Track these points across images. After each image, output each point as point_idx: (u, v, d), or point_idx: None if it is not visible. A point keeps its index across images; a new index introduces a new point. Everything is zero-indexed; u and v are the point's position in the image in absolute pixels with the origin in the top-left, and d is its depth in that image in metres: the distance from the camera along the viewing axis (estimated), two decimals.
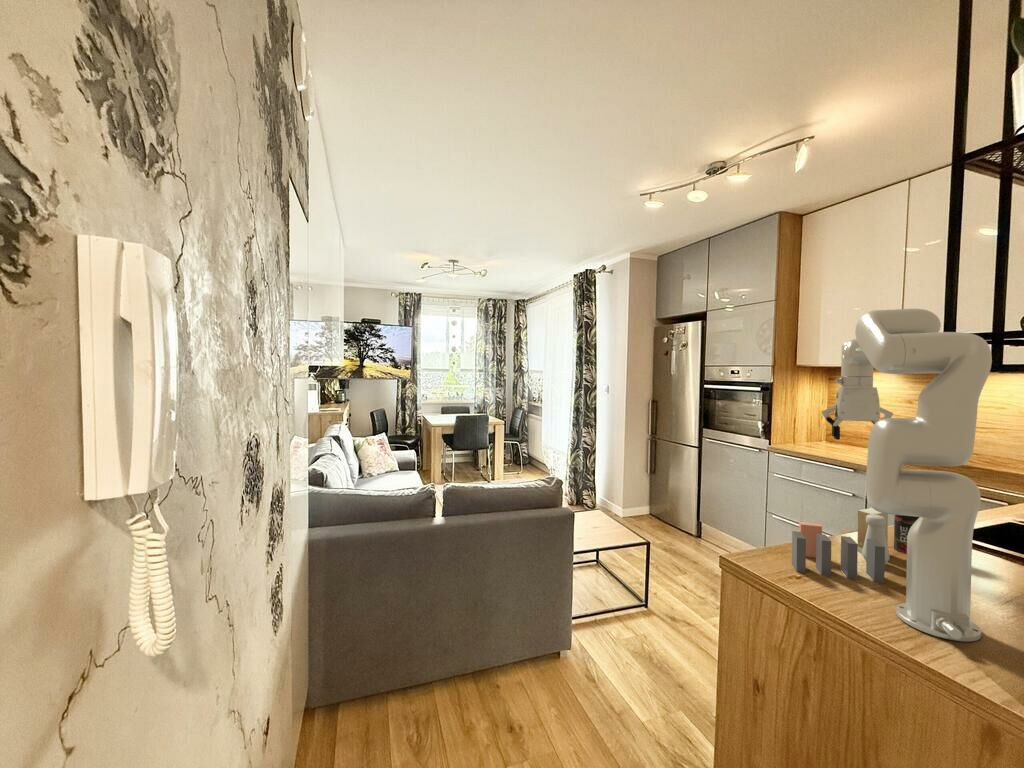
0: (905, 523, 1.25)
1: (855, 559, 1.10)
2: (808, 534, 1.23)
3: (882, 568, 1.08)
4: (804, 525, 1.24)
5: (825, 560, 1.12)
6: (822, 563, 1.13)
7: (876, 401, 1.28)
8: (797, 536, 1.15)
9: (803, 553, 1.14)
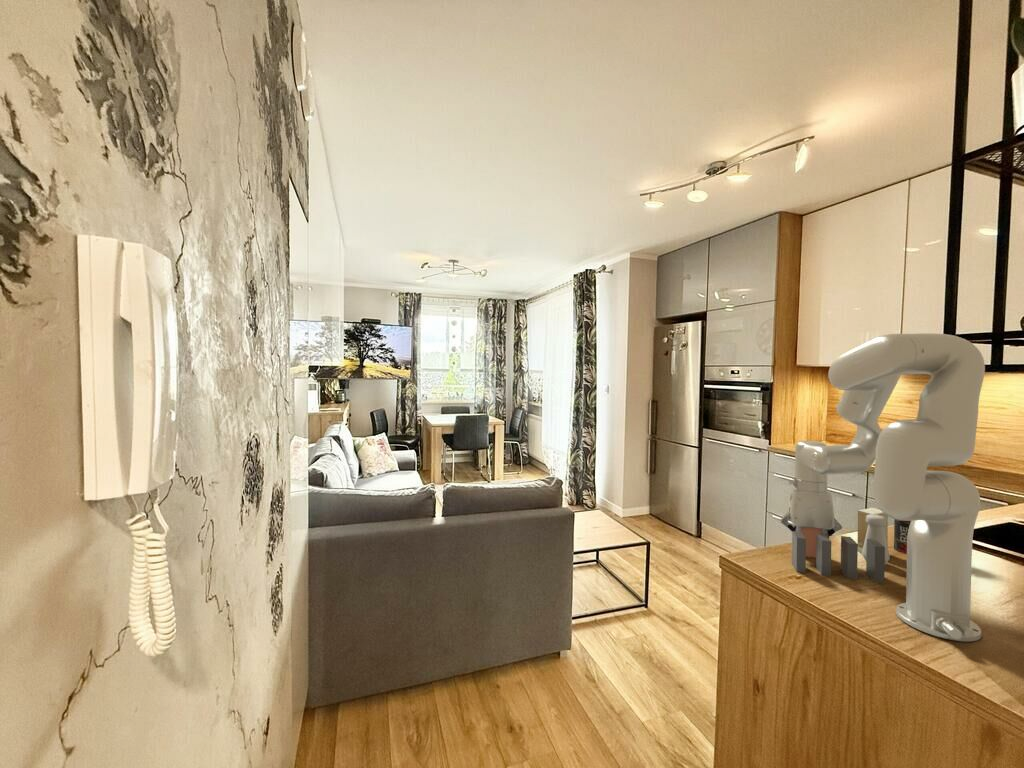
0: (905, 523, 1.25)
1: (855, 559, 1.10)
2: (808, 534, 1.23)
3: (882, 568, 1.08)
4: None
5: (825, 560, 1.12)
6: (822, 563, 1.13)
7: (830, 508, 1.20)
8: (797, 536, 1.15)
9: (803, 553, 1.14)
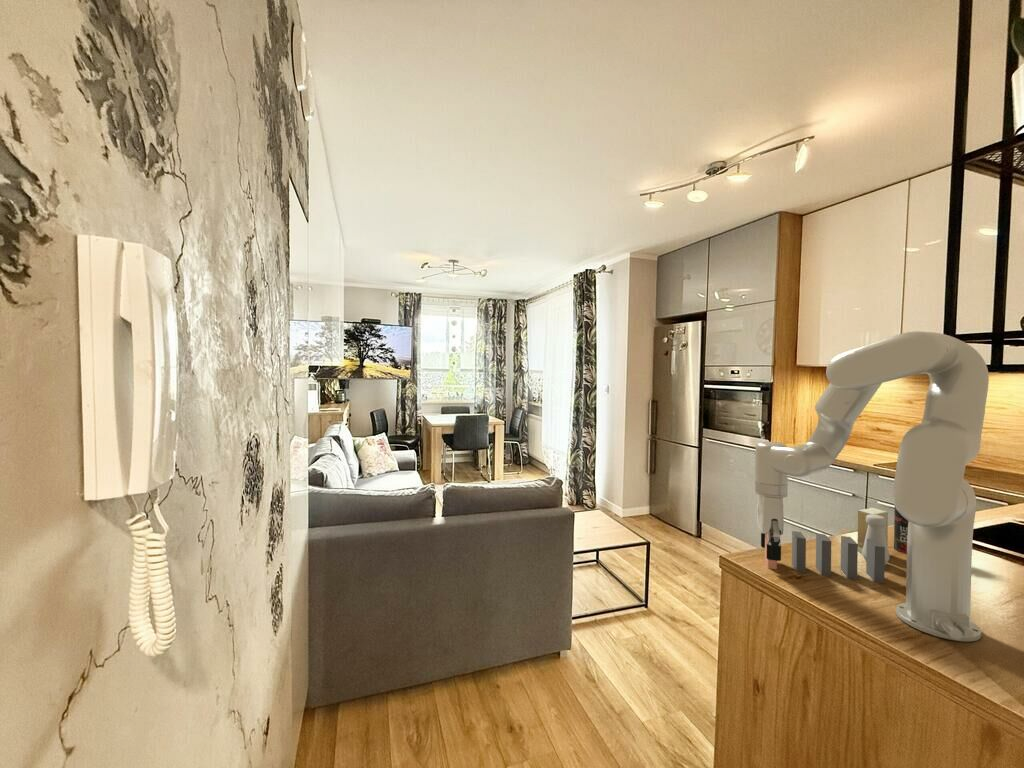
0: (905, 523, 1.25)
1: (855, 559, 1.10)
2: (766, 540, 1.20)
3: (882, 568, 1.08)
4: None
5: (825, 560, 1.12)
6: (822, 563, 1.13)
7: (762, 512, 1.16)
8: (797, 536, 1.15)
9: (803, 553, 1.14)
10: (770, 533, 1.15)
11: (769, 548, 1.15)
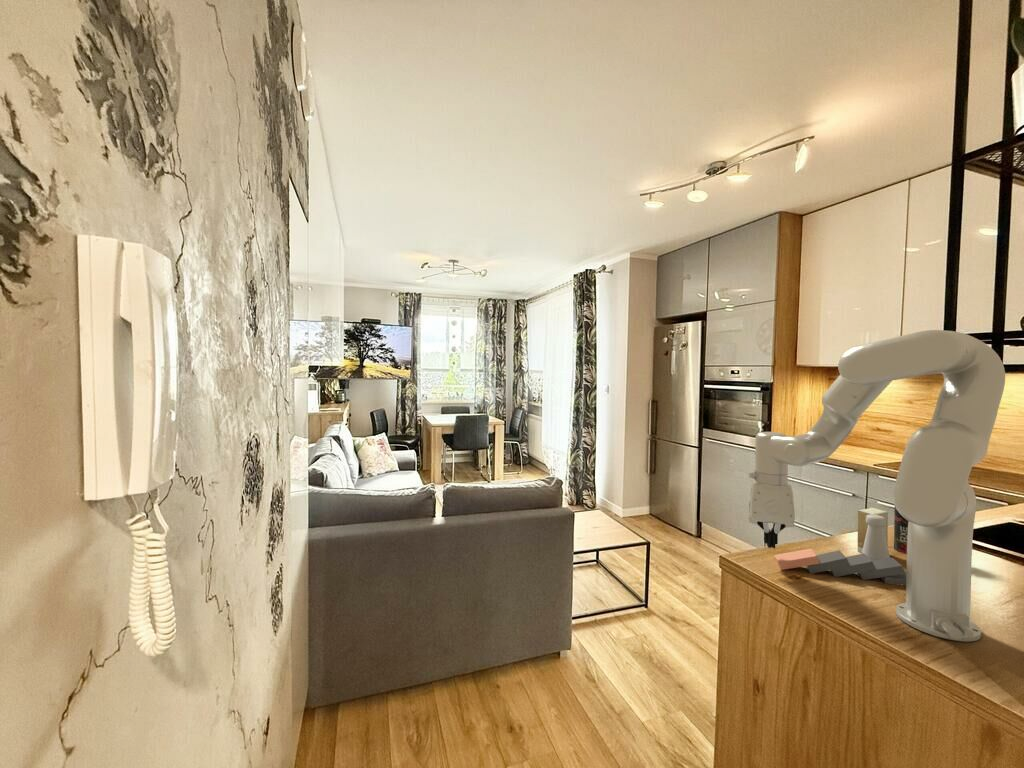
0: (905, 523, 1.25)
1: (885, 574, 1.08)
2: (802, 553, 1.17)
3: None
4: (811, 550, 1.17)
5: (850, 568, 1.11)
6: (845, 567, 1.11)
7: (790, 502, 1.15)
8: (845, 557, 1.12)
9: (831, 567, 1.12)
10: None
11: (774, 537, 1.17)
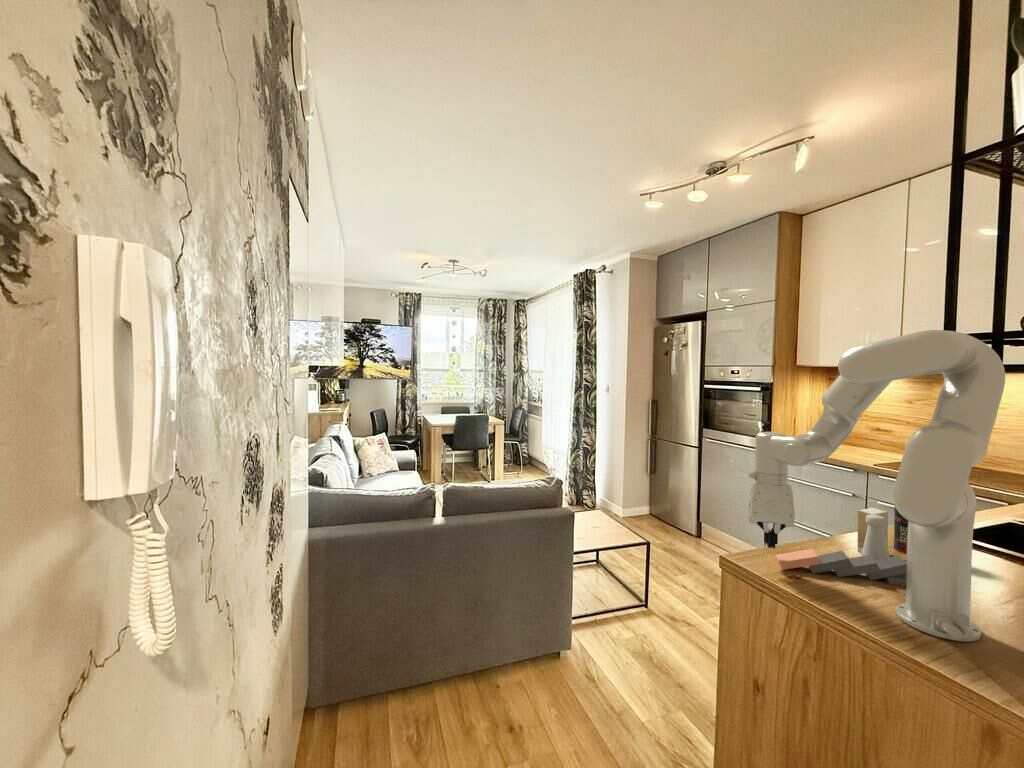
0: (905, 523, 1.25)
1: (893, 573, 1.08)
2: (803, 553, 1.17)
3: None
4: (812, 550, 1.17)
5: (853, 569, 1.10)
6: (849, 568, 1.11)
7: (790, 502, 1.15)
8: (848, 558, 1.12)
9: (833, 567, 1.12)
10: None
11: (774, 537, 1.17)
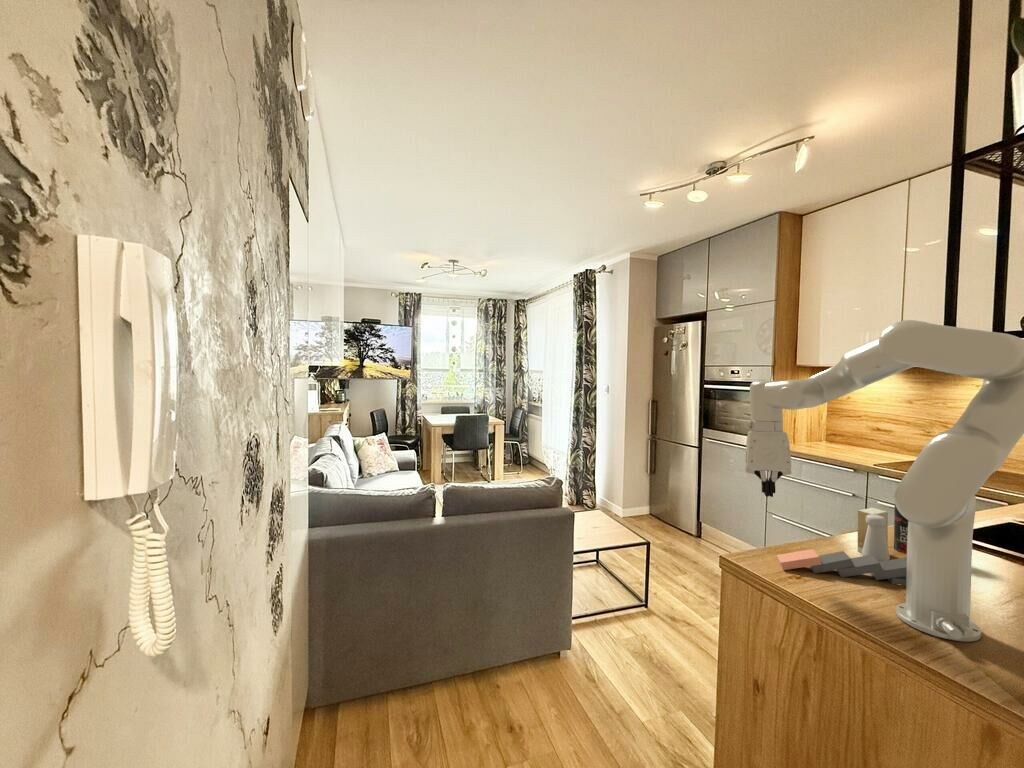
0: (905, 523, 1.25)
1: (900, 575, 1.07)
2: (804, 553, 1.17)
3: None
4: (813, 550, 1.17)
5: (856, 569, 1.10)
6: (852, 568, 1.11)
7: (786, 449, 1.14)
8: (849, 558, 1.12)
9: (835, 567, 1.12)
10: None
11: None
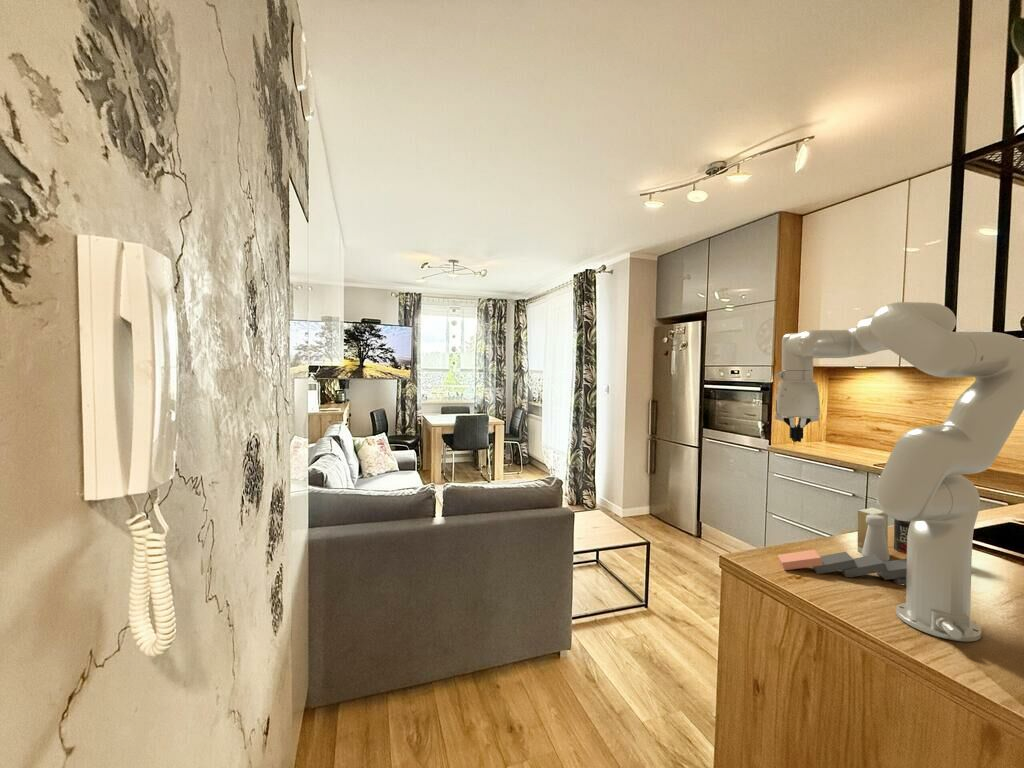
0: (905, 523, 1.25)
1: None
2: (805, 554, 1.17)
3: None
4: (814, 551, 1.17)
5: (862, 569, 1.10)
6: (857, 568, 1.10)
7: (815, 396, 1.22)
8: None
9: (838, 568, 1.12)
10: None
11: None
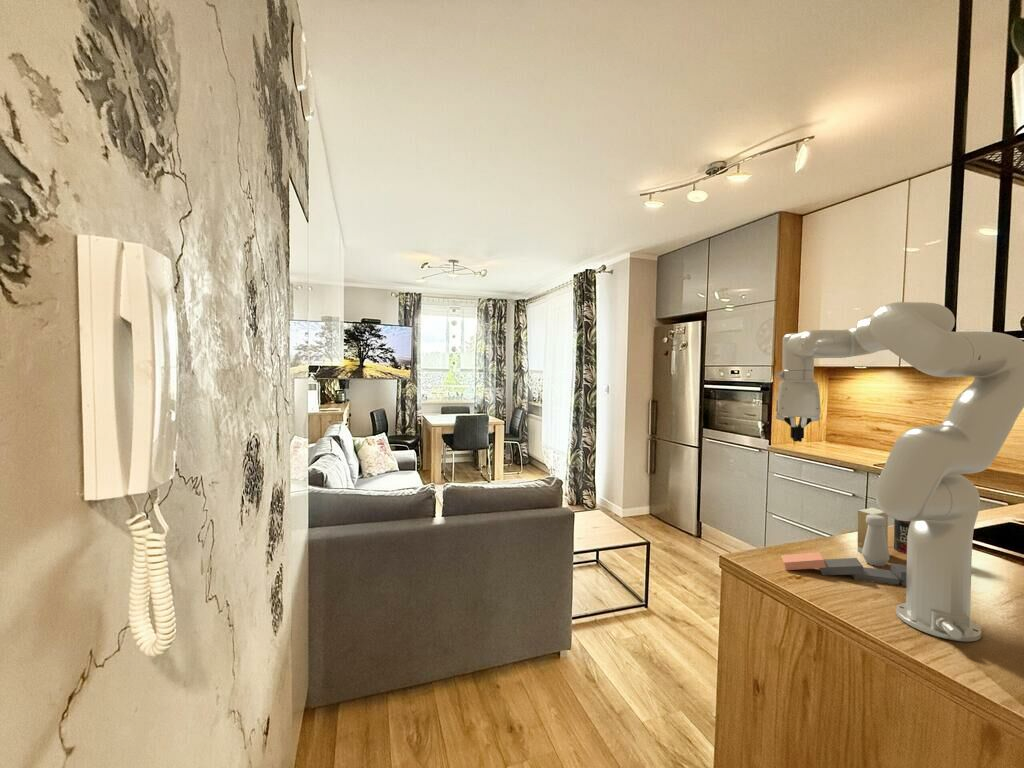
0: (905, 523, 1.25)
1: None
2: (809, 555, 1.16)
3: None
4: (819, 553, 1.16)
5: (873, 578, 1.09)
6: (869, 576, 1.09)
7: (816, 396, 1.22)
8: (861, 565, 1.10)
9: (845, 572, 1.11)
10: None
11: None
